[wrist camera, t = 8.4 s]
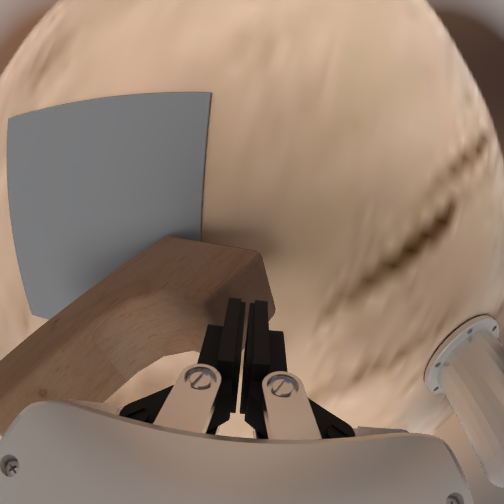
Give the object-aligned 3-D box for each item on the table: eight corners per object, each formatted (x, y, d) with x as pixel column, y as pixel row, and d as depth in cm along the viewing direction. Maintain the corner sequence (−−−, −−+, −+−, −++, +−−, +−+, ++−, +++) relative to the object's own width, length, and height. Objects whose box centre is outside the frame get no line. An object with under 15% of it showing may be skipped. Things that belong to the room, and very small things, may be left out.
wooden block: (263, 248, 15) (-9, 483, 3) (279, 312, 17) (63, 519, 5) (166, 233, 20) (-22, 377, 9) (186, 282, 22) (21, 420, 11)
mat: (211, 93, 17) (210, 92, 17) (199, 348, 25) (198, 351, 25) (10, 118, 17) (8, 118, 16) (33, 312, 25) (31, 314, 24)
